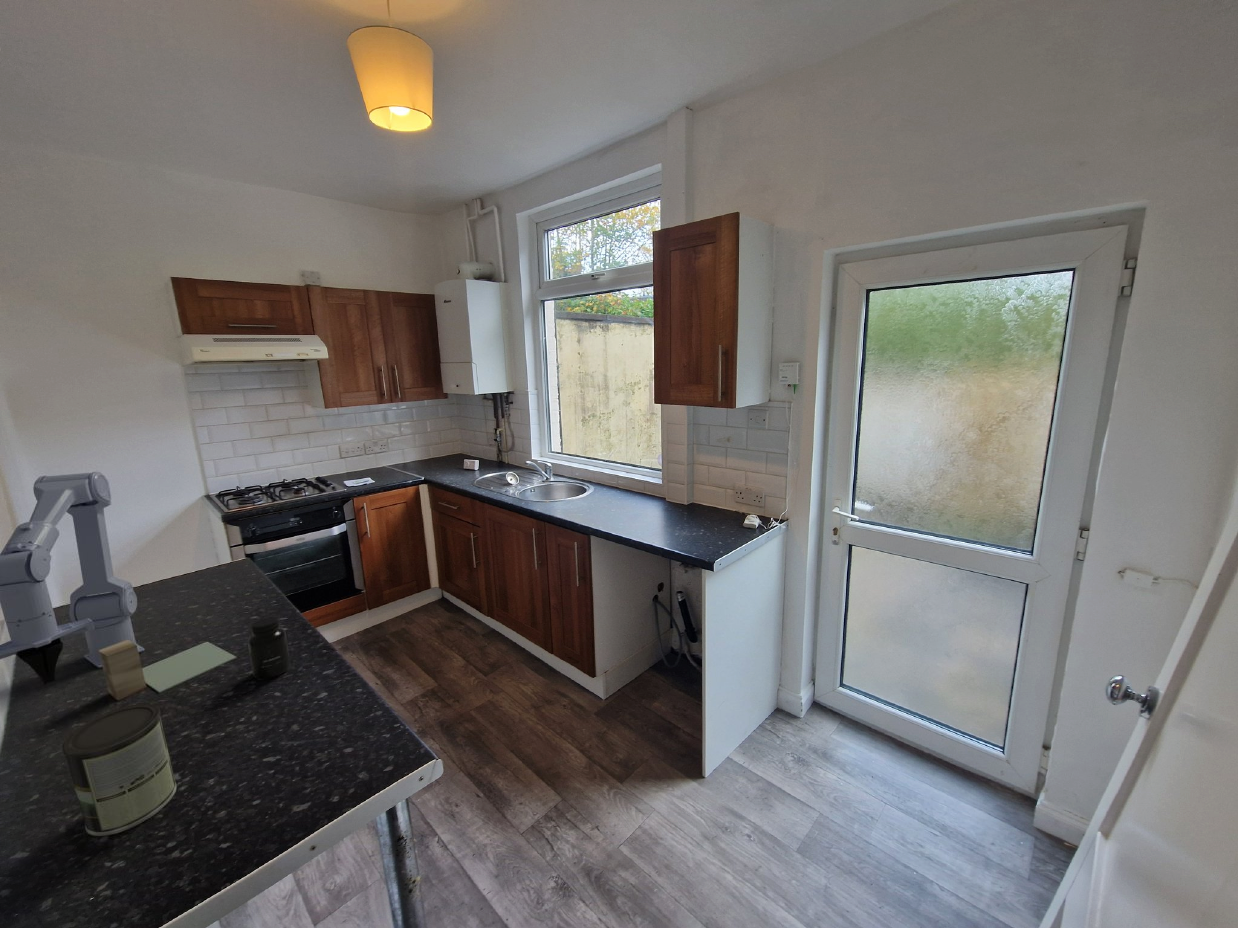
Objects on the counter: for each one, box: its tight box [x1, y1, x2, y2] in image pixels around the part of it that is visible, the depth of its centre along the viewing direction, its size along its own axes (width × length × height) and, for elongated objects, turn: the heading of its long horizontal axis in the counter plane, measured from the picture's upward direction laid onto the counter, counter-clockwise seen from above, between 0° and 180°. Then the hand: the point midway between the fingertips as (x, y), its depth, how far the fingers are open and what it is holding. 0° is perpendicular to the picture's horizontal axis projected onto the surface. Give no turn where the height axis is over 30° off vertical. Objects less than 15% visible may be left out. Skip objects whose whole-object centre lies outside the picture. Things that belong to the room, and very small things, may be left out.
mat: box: [142, 641, 237, 694], centre depth 112 cm, size 14×14×1 cm
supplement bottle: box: [247, 616, 291, 681], centre depth 109 cm, size 7×7×12 cm
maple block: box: [99, 640, 147, 701], centre depth 103 cm, size 4×4×10 cm
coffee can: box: [61, 703, 178, 837], centre depth 75 cm, size 10×10×14 cm
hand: (48, 680), depth 94 cm, fingers closed
